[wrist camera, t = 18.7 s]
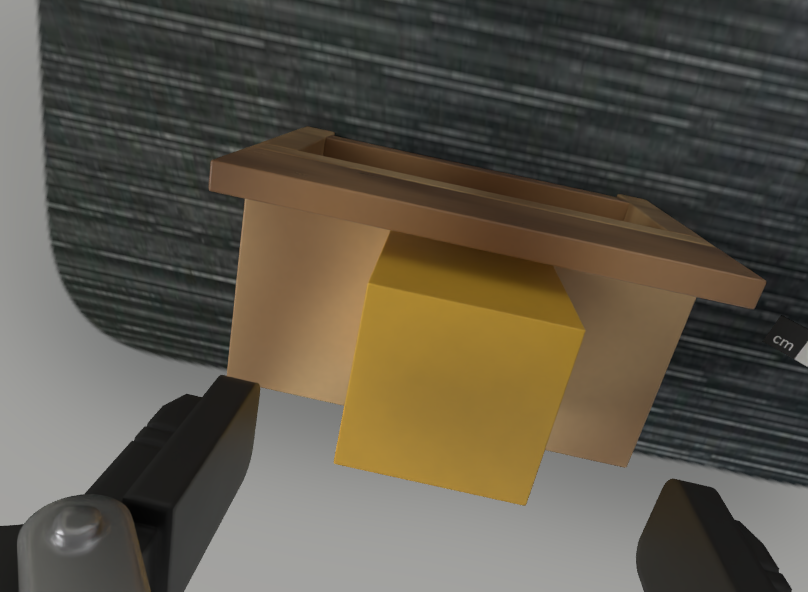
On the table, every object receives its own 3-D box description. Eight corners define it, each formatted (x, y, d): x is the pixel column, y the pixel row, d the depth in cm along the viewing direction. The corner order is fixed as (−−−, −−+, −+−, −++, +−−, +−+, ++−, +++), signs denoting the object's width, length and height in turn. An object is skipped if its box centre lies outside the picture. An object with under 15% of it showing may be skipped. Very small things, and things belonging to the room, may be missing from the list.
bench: (281, 305, 27) (188, 429, 17) (306, 125, 24) (209, 159, 15) (585, 372, 27) (654, 533, 17) (646, 199, 24) (768, 281, 14)
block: (362, 371, 20) (332, 464, 15) (390, 228, 18) (367, 283, 13) (509, 403, 20) (525, 507, 15) (552, 263, 18) (586, 330, 13)
